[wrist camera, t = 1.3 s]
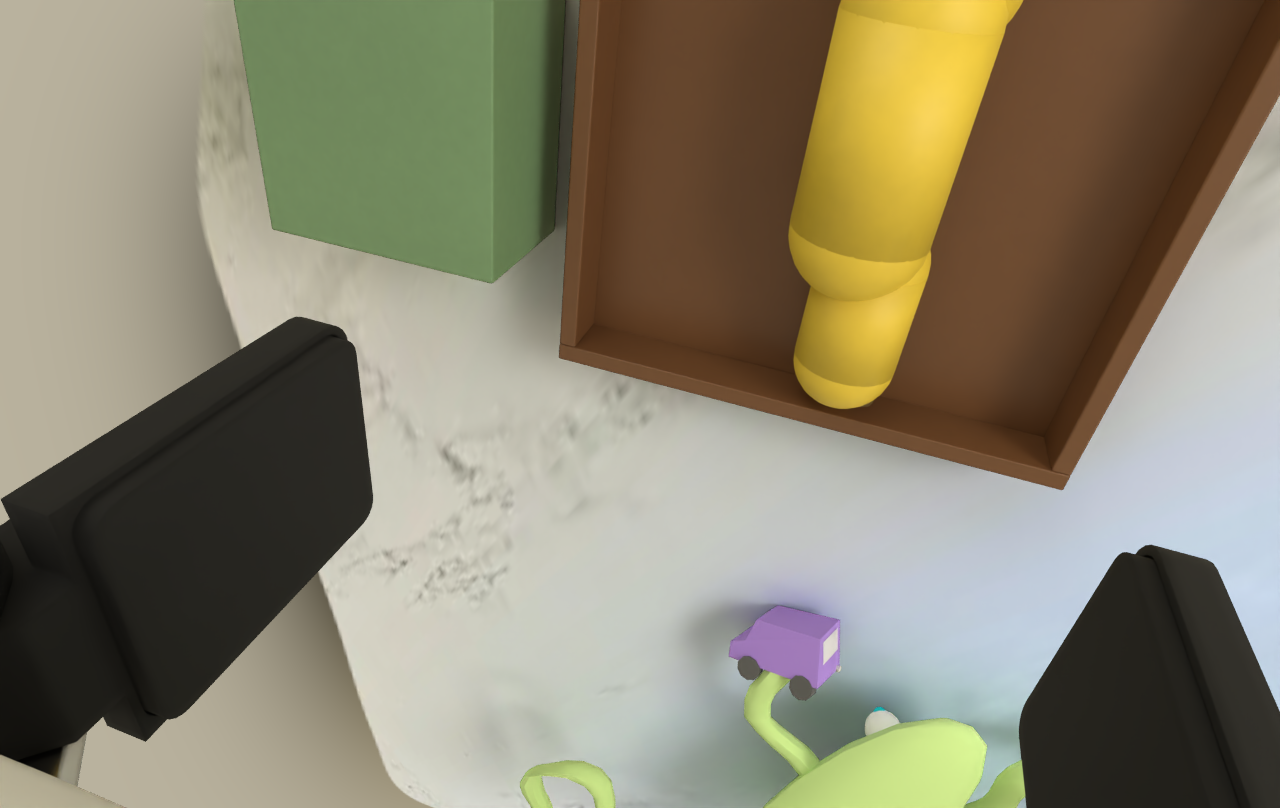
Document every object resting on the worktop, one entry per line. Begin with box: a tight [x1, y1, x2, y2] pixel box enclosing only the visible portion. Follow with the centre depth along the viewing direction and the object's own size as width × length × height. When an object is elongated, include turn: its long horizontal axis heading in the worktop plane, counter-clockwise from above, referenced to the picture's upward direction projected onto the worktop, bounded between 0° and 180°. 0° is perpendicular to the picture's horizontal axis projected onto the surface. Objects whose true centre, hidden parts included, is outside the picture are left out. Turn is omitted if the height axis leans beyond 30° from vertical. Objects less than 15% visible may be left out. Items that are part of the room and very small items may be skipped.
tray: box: [559, 0, 1280, 490], centre depth 22 cm, size 19×17×3 cm
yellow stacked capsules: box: [788, 0, 1023, 409], centre depth 21 cm, size 17×4×4 cm, turn 174°
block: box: [234, 0, 565, 283], centre depth 25 cm, size 8×8×5 cm
